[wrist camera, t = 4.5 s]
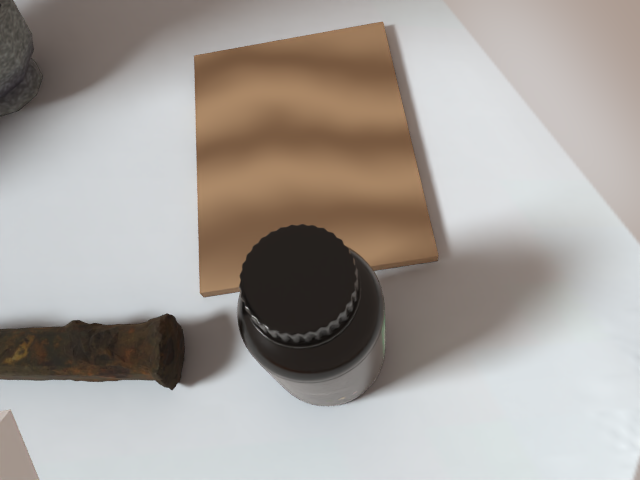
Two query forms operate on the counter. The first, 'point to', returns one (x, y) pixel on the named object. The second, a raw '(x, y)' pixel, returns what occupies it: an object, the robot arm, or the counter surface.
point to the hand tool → (95, 352)
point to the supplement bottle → (312, 314)
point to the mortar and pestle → (16, 60)
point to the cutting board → (305, 152)
